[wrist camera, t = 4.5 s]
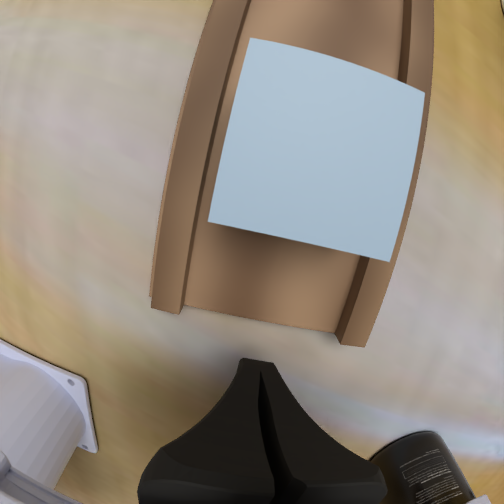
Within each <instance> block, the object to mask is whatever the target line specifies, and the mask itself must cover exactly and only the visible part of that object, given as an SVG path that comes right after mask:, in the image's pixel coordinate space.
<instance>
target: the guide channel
mask: <svg viewBox="0 0 504 504" xmlns="http://www.w3.org/2000/svg"><path fill="white" fill-rule="evenodd" d="M250 38H256V39H261V40H267V41H272V42H277V43H281V44H286V45H290V46H295V47H299V48H303V49H307V50H310V51H314V52H318V53H321V54H325V55H328V56H332V57H335V58H338V59H341V60H344V61H347V62H350V63H353V64H356V65H359V66H362V67H365V68H368V69H370V70H373V71H376V72H378V73H381V74H383V75H386V76H388V77H391V78H393V79H395V80H398V81H400V82H402V83H405V84H407V85H409V86H411V87H414V88H416V89H418V90H420V91H422V92H424V93H425V97H424V106H423V114H422V121H421V128H420V134H419V141H418V146H417V152H416V158H415V163H414V168H413V173H412V178H411V182H410V187H409V191H408V196H407V200H406V204H405V208H404V212H403V216H402V220H401V224H400V228H399V231H398V235H397V239H396V242H395V246H394V249H393V252H392V256H391V259H390V262H387V261H383V260H379V259H375V258H370V257H366V256H362V255H357V254H353V253H349V252H345V251H340V250H336V249H331V248H327V247H323V246H318V245H314V244H309V243H305V242H300V241H296V240H291V239H287V238H282V237H278V236H273V235H268V234H264V233H259V232H254V231H250V230H245V229H240V228H236V227H231V226H226V225H221V224H216V223H212V222H208V218H209V213H210V207H211V202H212V197H213V192H214V187H215V183H216V178H217V173H218V168H219V164H220V159H221V154H222V150H223V145H224V141H225V136H226V132H227V128H228V123H229V119H230V115H231V111H232V106H233V102H234V98H235V94H236V90H237V86H238V82H239V78H240V74H241V70H242V67H243V63H244V59H245V55H246V51H247V48H248V44H249V40H250ZM433 54H434V0H213V3H212V6H211V8H210V11H209V14H208V17H207V20H206V23H205V26H204V29H203V32H202V35H201V38H200V41H199V45H198V48H197V51H196V54H195V58H194V61H193V65H192V68H191V72H190V75H189V79H188V83H187V86H186V90H185V94H184V98H183V102H182V106H181V110H180V114H179V118H178V122H177V126H176V131H175V135H174V140H173V144H172V149H171V154H170V159H169V164H168V169H167V174H166V179H165V185H164V190H163V196H162V202H161V208H160V214H159V221H158V228H157V234H156V242H155V249H154V257H153V265H152V274H151V283H150V293H149V296H150V297H152V301H151V308H154V309H158V310H162V311H166V312H170V313H174V314H178V315H179V314H180V312H181V310H182V308H183V306H184V305H188V306H192V307H197V308H201V309H206V310H210V311H215V312H220V313H225V314H229V315H234V316H239V317H244V318H249V319H255V320H260V321H265V322H271V323H276V324H282V325H287V326H293V327H299V328H305V329H311V330H318V331H324V332H331V333H335V335H336V337H337V339H338V341H339V343H340V344H341V345H349V346H357V347H365V345H366V343H367V340H368V338H369V335H370V333H371V331H372V328H373V325H374V323H375V320H376V318H377V315H378V312H379V310H380V307H381V304H382V302H383V299H384V296H385V293H386V290H387V287H388V284H389V282H390V279H391V275H392V272H393V269H394V266H395V263H396V260H397V257H398V253H399V250H400V246H401V243H402V240H403V236H404V232H405V229H406V225H407V221H408V217H409V213H410V209H411V205H412V201H413V197H414V192H415V188H416V183H417V179H418V174H419V169H420V164H421V158H422V153H423V147H424V141H425V135H426V128H427V121H428V113H429V105H430V95H431V85H432V72H433Z"/></svg>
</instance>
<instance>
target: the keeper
mask: <svg viewBox="0 0 504 504" xmlns="http://www.w3.org/2000/svg"><path fill="white" fill-rule="evenodd" d="M424 97H425V93H424V92H422V91H420V90H418V89H416V88H414V87H411V86H409V85H407V84H405V83H402V82H400V81H398V80H395V79H393V78H391V77H388V76H386V75H383V74H381V73H378V72H376V71H373V70H370V69H368V68H365V67H362V66H359V65H356V64H353V63H350V62H347V61H344V60H341V59H338V58H335V57H332V56H328V55H325V54H321V53H318V52H314V51H310V50H307V49H303V48H299V47H295V46H290V45H286V44H281V43H277V42H272V41H267V40H261V39H256V38H250V40H249V44H248V48H247V51H246V55H245V59H244V63H243V67H242V70H241V74H240V78H239V82H238V86H237V90H236V94H235V98H234V102H233V106H232V111H231V115H230V119H229V123H228V128H227V132H226V136H225V141H224V145H223V150H222V154H221V159H220V164H219V168H218V173H217V178H216V183H215V187H214V192H213V197H212V202H211V207H210V213H209V218H208V222H212V223H216V224H221V225H226V226H231V227H236V228H240V229H245V230H250V231H254V232H259V233H264V234H268V235H273V236H278V237H282V238H287V239H291V240H296V241H300V242H305V243H309V244H314V245H318V246H323V247H327V248H331V249H336V250H340V251H345V252H349V253H353V254H357V255H362V256H366V257H370V258H375V259H379V260H383V261H387V262H390V259H391V256H392V252H393V249H394V246H395V242H396V239H397V235H398V231H399V228H400V224H401V220H402V216H403V212H404V208H405V204H406V200H407V196H408V191H409V187H410V182H411V178H412V173H413V168H414V163H415V158H416V152H417V146H418V141H419V134H420V128H421V121H422V114H423V106H424Z"/></svg>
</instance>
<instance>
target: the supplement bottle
mask: <svg viewBox="0 0 504 504" xmlns="http://www.w3.org/2000/svg"><path fill="white" fill-rule="evenodd" d="M370 462H371V463H373V464H375V465H377V466H379V468H380V470H381V472H382V474H383V477H384V480H385V483H386V486H387V489H388V491H387V494H386V496H385V497H384V498H383V499H382V501H381V502H380V503H379V504H465V503H467V502H469V501H471V500H473V499H475V498H476V497H475V495H474V493H473V491H472V489H471V487H470V486H469V484H468V482H467V480H466V478H465V477H464V475H463V473H462V471H461V469H460V468H459V466H458V464H457V462H456V461H455V459H454V457H453V456H452V454H451V452H450V450H449V449H448V447H447V445H446V444H445V442H444V441H443V439H442V438H441V436H440V435H438V434H436V433H433V432H420V433H416V434H412V435H409V436H407V437H404V438H402V439H400V440H398V441H396V442H394V443H392V444H391V445H389V446H388V447H386V448H385V449H383V450H382V451H381V452H379V453H378V454H377V455H376V456H375V457H374V458H373V459H372V460H371V461H370Z"/></svg>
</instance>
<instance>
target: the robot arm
mask: <svg viewBox="0 0 504 504" xmlns="http://www.w3.org/2000/svg"><path fill="white" fill-rule="evenodd" d="M76 447H79V448H82V449H84V450H87V451H89V452H92V453H97V451H98V445H97V441H96V436H95V431H94V426H93V421H92V415H91V409H90V403H89V396H88V389H87V383H86V381H85V380H84V379H83V378H82V377H80V376H78V375H75V374H73V373H70V372H68V371H65V370H63V369H61V368H58V367H56V366H54V365H51V364H49V363H47V362H45V361H43V360H40V359H38V358H36V357H34V356H32V355H30V354H28V353H26V352H24V351H22V350H20V349H18V348H16V347H14V346H12V345H10V344H8V343H6V342H4V341H3V340H1V339H0V504H83V503H80V502H78V501H76V500H74V499H71V498H69V497H67V496H65V495H63V494H61V493H59V492H57V491H55V490H54V488H55V486H56V484H57V482H58V480H59V478H60V476H61V475H62V473H63V471H64V469H65V467H66V465H67V463H68V462H69V460H70V458H71V456H72V454H73V452H74V451H75V449H76ZM387 491H388V489H387V486H386V483H385V480H384V477H383V474H382V472H381V470H380V468H379V466H377V465H375V464H373V463H371V462H369V461H367V460H365V459H363V458H361V457H360V456H358V455H356V454H354V453H353V452H351V451H350V450H348V449H347V448H345V447H344V446H342V445H341V444H339V443H338V442H337V441H335V440H334V439H333V438H332V437H331V436H329V435H328V434H327V433H326V432H325V431H323V430H322V429H321V428H320V427H319V426H318V425H317V424H316V423H315V422H314V421H313V420H312V419H311V418H310V417H309V415H308V414H307V413H306V412H305V411H304V410H303V408H302V407H301V406H300V405H299V403H298V402H297V400H296V399H295V398H294V396H293V395H292V393H291V392H290V390H289V389H288V387H287V385H286V384H285V382H284V380H283V379H282V377H281V375H280V373H279V372H278V370H277V368H276V366H275V365H274V363H271V362H265V361H259V360H253V359H247V358H242V359H240V361H239V365H238V369H237V373H236V375H235V377H234V379H233V381H232V383H231V384H230V386H229V388H228V389H227V391H226V392H225V394H224V395H223V396H222V398H221V399H220V400H219V402H218V403H217V404H216V405H215V406H214V408H213V409H212V410H211V411H210V412H209V413H208V414H207V415H206V416H205V417H204V418H203V419H202V420H201V421H200V422H198V423H197V424H196V425H195V426H194V427H192V428H191V429H190V430H188V431H187V432H186V433H184V434H183V435H182V436H180V437H179V438H177V439H175V440H174V441H172V442H170V443H168V444H167V445H165V446H163V447H161V448H160V449H159V450H158V452H157V453H156V454H155V455H154V457H153V458H152V459H151V461H150V462H149V463H148V465H147V466H146V468H145V470H144V472H143V474H142V476H141V479H140V482H139V486H138V490H137V493H138V500H139V504H379V503H380V502H381V501H382V499H383V498H384V497H385V496H386V494H387ZM465 504H491V502H490V500H489V499H488V497H487V495H482V496H480V497H478V498H475V499H473V500H471V501H469V502H467V503H465Z"/></svg>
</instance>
